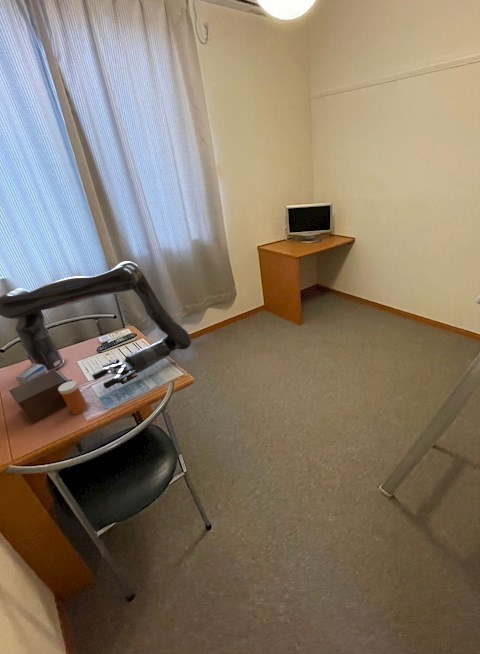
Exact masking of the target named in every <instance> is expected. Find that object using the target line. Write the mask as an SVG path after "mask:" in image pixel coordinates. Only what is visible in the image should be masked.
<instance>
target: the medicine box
mask: <svg viewBox="0 0 480 654" xmlns="http://www.w3.org/2000/svg"><path fill="white" fill-rule="evenodd" d="M46 373H48V371H47V369H46V367H45V365H39V364H35V365H34V364H33V365H32V366H30V367H29V368H27V369H26V370H24V371H23V372H21V373H20V374H18V375H17V376H16V377H15V379H16V380H17V381H18V383H19V384H20V385H22V384H24V383H26V382H28V381H31V380H33V379H35V378H37V377H40V376H42V375H44V374H46Z"/></svg>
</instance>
